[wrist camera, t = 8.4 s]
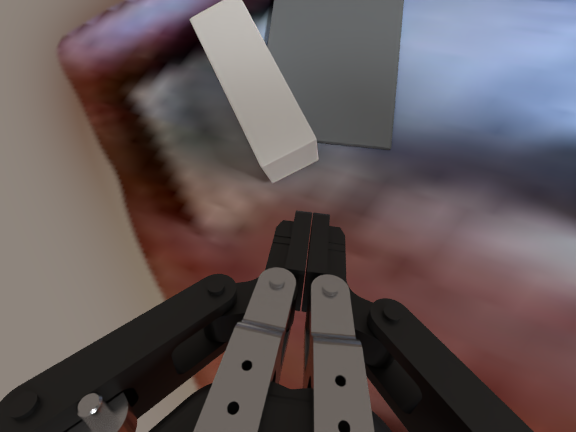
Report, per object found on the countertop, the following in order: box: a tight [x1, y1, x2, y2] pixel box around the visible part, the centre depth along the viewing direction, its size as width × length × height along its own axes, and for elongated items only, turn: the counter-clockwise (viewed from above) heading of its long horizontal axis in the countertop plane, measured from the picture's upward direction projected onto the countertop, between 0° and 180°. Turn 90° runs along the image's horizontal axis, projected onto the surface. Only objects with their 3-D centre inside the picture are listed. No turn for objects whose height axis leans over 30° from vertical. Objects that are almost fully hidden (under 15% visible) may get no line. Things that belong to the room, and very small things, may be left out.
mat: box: [267, 0, 404, 150], centre depth 37 cm, size 23×16×1 cm
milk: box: [190, 0, 319, 183], centre depth 34 cm, size 6×6×22 cm
